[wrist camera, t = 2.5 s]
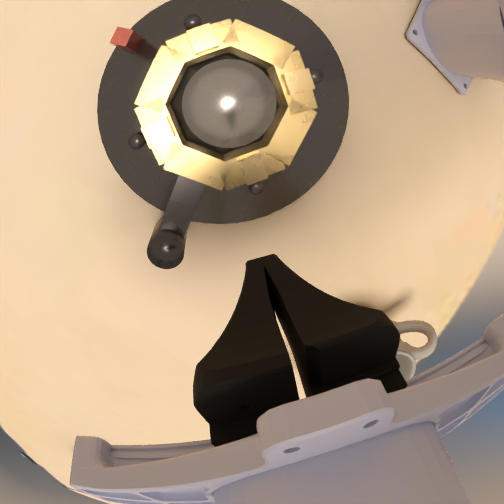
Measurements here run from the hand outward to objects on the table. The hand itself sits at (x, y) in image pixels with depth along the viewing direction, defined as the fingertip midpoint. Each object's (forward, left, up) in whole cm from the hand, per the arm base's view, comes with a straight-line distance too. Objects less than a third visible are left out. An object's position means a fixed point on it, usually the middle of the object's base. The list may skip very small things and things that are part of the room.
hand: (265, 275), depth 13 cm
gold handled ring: (-3, -4, -7) cm, 9 cm away
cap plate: (-6, -4, -8) cm, 11 cm away
